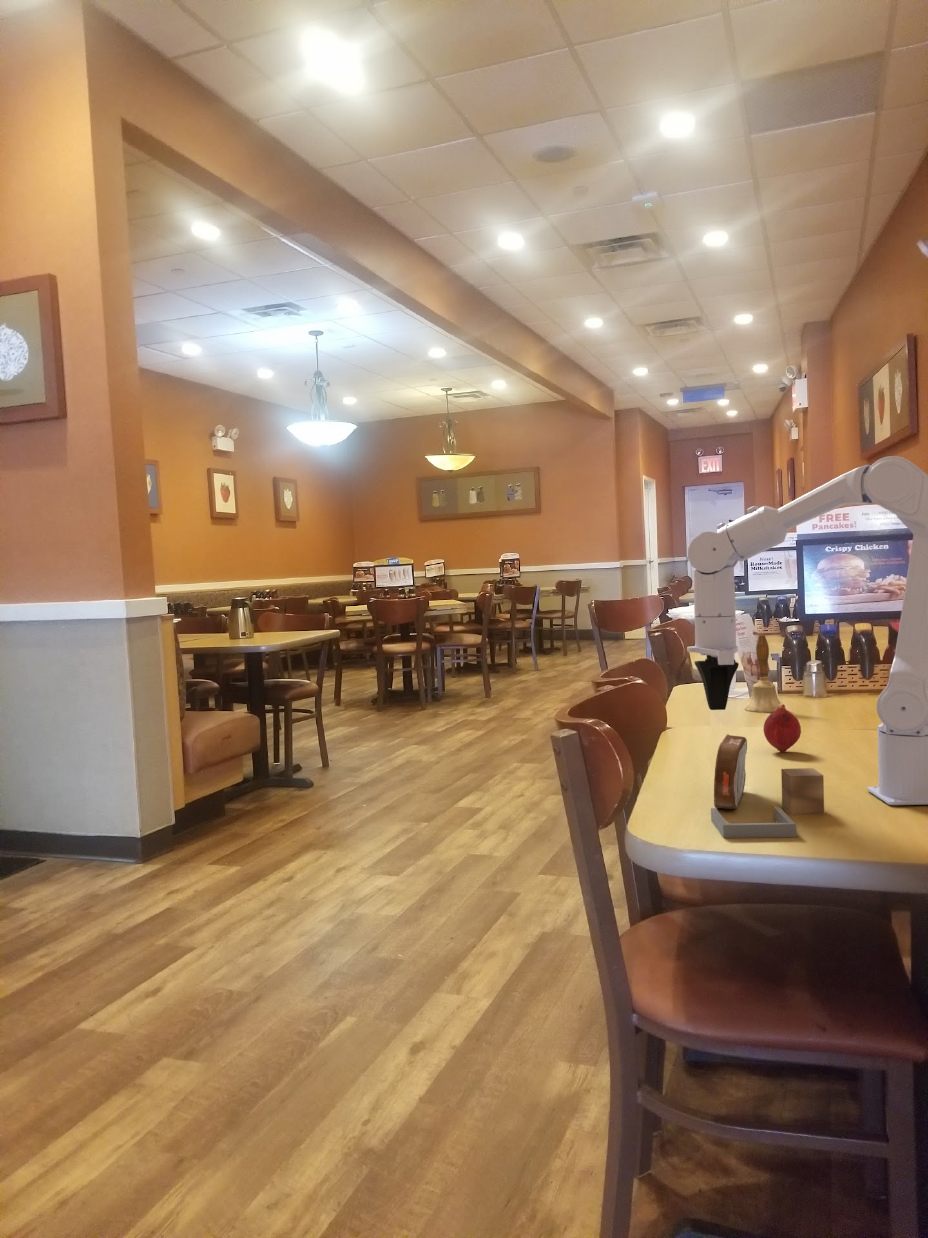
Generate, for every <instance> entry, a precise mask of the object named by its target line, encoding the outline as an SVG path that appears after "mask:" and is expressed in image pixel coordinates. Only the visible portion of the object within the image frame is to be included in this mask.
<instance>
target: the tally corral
mask: <svg viewBox="0 0 928 1238" xmlns="http://www.w3.org/2000/svg"><path fill="white" fill-rule="evenodd" d="M710 819H711V820H710V821H711V822H712V824H713V825H714V826H715V828H716V829H717V831H718V833H719V834H720V835H721V837H722V838H723V839H737V838H739V839H743V838H744V839H746V838H747V839H749V838H750V839H751V838H797V823H796V822H795V821H794V820H792V817H791V818H790V817H789V815H788V814H787V813H785V811H783V809H782V808H781V807H779V806H773V820H774V821H775V822H754V823H753V822H747V823H745V822H743V823H737V822H736V823H728V822H727V821H726V819H725V818H724V817H723V816H722V814H721V813H720V812H719V811H718V808H715V807H714V808H713V807H711V808H710Z"/></svg>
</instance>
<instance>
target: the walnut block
mask: <svg viewBox="0 0 928 1238" xmlns="http://www.w3.org/2000/svg"><path fill="white" fill-rule="evenodd" d="M780 771H781V807H782V808H783V809H784V810H785V811H786V812H787V813H788V814H789V815H790V816H825V793H824V791H825V788H824V786H825V785H824V782H825V781H824V775H823V774H822V772H819V771H818V770H817V769H815V768H814V767H812V768H811V767H810V768H809V767H808V768H781V770H780Z"/></svg>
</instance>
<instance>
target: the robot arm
mask: <svg viewBox="0 0 928 1238" xmlns="http://www.w3.org/2000/svg"><path fill="white" fill-rule="evenodd" d="M873 503H874V504H876V505H878V506H879V507H882V508H883V509H885V510H887V511H889V512H891V513H892V514H893V515H896V517H897V518H898V520H899V521H900V522H901V523H902V524H903V525H904V526H905V527H906V528H907V529H908V530H909V531H910V532H911V534H912V535H913V536H912V541H911V542H912V543H911V549H910V553H909V554H910V555H909V561H908V568H907V575H906V580H905V588H904V593H903V600H902V601H903V602H902V607H901V613H900V620H899V627H898V633H897V638H896V646H895V653H894V656H893V661H892V663H891V664H892V665H891V666H890V670H889V671H890V672H889V676H888V682H887V685H886V686H885V688H884V689H883V690H882V691H881V692H880V694H879V696H878V697H877V701H876V713H877V716H878V718H879V719H880V721H881V723H879V724H877V760H878V762H877V766H878V767H877V769H878V771H877V772H878V773H877V774H878V779H877V780H878V782H877V783H878V786H867V788H866V790H867V791H868V792H870V793H871V794H872V795H874V796H875V797H877V798H878V799H879V800H882V801H883V802H884V803H886V804H887V805H889V806H915V805H916V806H917V805H918V806H919V805H920V806H921V805H922V806H924V805H926V806H927V805H928V473H926V472H925V471H924V470H922V469H921V468H920V467H919V466H917V465H916V464H914V463H913V462H912V461H910V460H909V459H907V458H905V457H902V456H897V455H890V456H885V457H882V458H880V459H878V460H876V461H874V462H873V463H872V464H871V465H870V464H865V465H862V466H859V467H856V468H854V469H851V470H850V471H848V472H845V473H843V474H841V475H839V476H838V477H835V478H833V479H832V480H830V481H828V482H826V483H824V484H823V485H820V486H819V487H817V488H814V489H813V490H811V491H809V492H808V493H805V494H803V495H801V496H800V497H798V498H796V499H795V500H794V499H793V501H791V502H789V503H787V504H785V505H783V506H781V507H780V508H775V507H772V506H768V505H763V506H760V507H758V506H757V505H753V506H751V507H749V508H747V509H746V512H747V514H744V515H743V516H740V517H739V518H737V519H734V520H732V521H731V522H729V523H727V524H726V523H724V522H721V523H720V524H719V523H718V524H717V525H716V529H717V531H716V532H715V531H702V532H700V533H699V534H698V535H697V536H695V537H694V538H693V539H692V541H691V542H690V543H689V546H688V548H687V558H688V561H689V564H690V565H691V566H692V568H693V601H694V602H693V603H694V604H693V605H694V607H693V608H694V609H693V610H694V641H695V643H694V645H692V646H690V645H689V646H687V647H686V651H687V653H696V654H699V655H700V656H706V658H705V660H695V661H694V665H695V667H696V670H697V672H698V673H699V676H700V678H701V682H702V684H703V687H704V694H705V698H706V702H707V705H708V708H709V709H710V710H711V711H723V710H726V708H727V706H728V705H727V704H728V699H729V693H730V689H731V684H732V682H733V678H734V676H735V674H736V672H737V670H738V668H739V664H740V663H739V662H737V660H736V659H735V654H736V653H738V651H739V648H738V647H739V646H738V645H737V625H736V624H737V623H736V622H737V621H736V620H737V618H736V617H737V615H736V584H735V567H736V566H737V564H738V562H744V561H746V560H748V559H750V558H753V557H755V556H757V555H759V554H762V553H763V552H765V551H767V550H770V549H772V548H774V547H776V546H778V545H780V544H783V543H784V542H785V540H786V537H787V536H788V532H789V531H790V529H793V528H794V527H797V526H799V525H801V524H804V523H807V522H808V521H811V520H813V519H816V518H818V517H820V516H823V515H824V514H827V513H829V512H831V511H833V510H836V509H839V508H841V507H843V506H846V505H860V506H861V505H865V506H867V505H868V506H870V505H873Z"/></svg>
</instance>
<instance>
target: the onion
mask: <svg viewBox="0 0 928 1238" xmlns="http://www.w3.org/2000/svg"><path fill="white" fill-rule="evenodd" d="M801 727H802V726H801V723H800V721H799V719H798V718H797V717H796V715H794V714H793V713H792V712H791V711H789V710H788V709H786V705H785V704H784V703H781V704H779V706H778V708H777V710H776V711H774V712H771V713H769V715H768V716H767V718H766V719H765V721H764V724H763V734H764V737H765V739H766V740H767V742H768V743H769V744H770V745H771V746H772V747H773V748H775V749H776V750H777V751H779V752H781V753H785V752H787V751H788V750H789V749H790V748H791V747H793V746H794V745H795V744H796V743H797V742H798V741H799V739H800V738H801V733H802V728H801Z"/></svg>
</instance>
